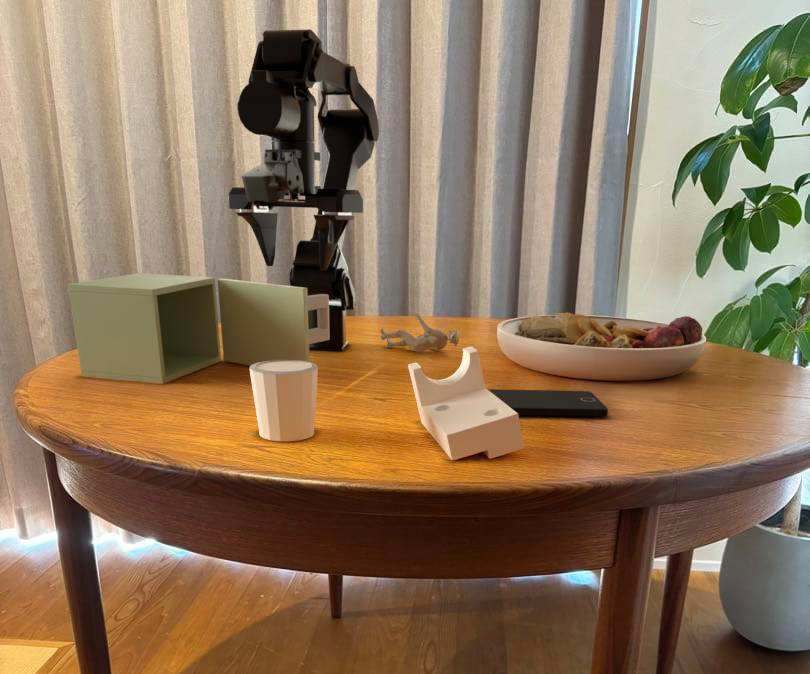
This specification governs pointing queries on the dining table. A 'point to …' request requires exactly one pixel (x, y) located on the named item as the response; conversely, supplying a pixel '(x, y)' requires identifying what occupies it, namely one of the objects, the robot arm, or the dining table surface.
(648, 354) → the bowl
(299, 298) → the cupboard door
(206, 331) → the cupboard
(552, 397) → the cell phone
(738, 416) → the dining table surface
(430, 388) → the bracket
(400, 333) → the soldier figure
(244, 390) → the dining table surface
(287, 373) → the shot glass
